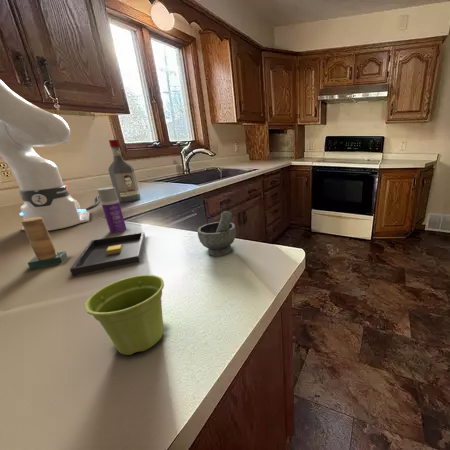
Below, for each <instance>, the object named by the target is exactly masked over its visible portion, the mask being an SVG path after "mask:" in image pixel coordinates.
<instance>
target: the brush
mask: <svg viewBox="0 0 450 450" xmlns="http://www.w3.org/2000/svg"><path fill="white" fill-rule="evenodd" d="M20 222H21V225H22V227H24V230H23V231H24V232H25V234H26V237H27V239H28V241H29V244H30V246H31V249H32V250H33V251H32V252H33V253H34V255H35V256H34V257H33V258H31V259H29V261H28V262H27V265H28V267H29V269H36V268H40V267H46V266H51V265H52V266H53V265H57V264H63V262H64V261H65V260H66V259H67V258H68V255H67V252H66V250H64V251H58V252H57V251H56V247H55V246H54V243H53V241H52V237H51V235H50V233H49V231H48V230H47V228H46V225H45V223H44V220H43V218H42V217H34V218H28V219H24V218H23V219H22V220H21V221H20Z"/></svg>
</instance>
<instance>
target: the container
mask: <svg viewBox="0 0 450 450" xmlns="http://www.w3.org/2000/svg"><path fill="white" fill-rule="evenodd" d="M97 193H98V195H99V197H98V198H99V202H100V204H101V208H102V211H103V215H104V217H105V220H106V225H107V227H108V230H109V233H110V234H119V233H122V232H126V231H127V226H126V222H125V217H124V215H123V211H122V207H121V204H120V203H121V202H119V200H118V197H117V194H116V191H115V188H114V187H113V186H106V187H101V188H97Z"/></svg>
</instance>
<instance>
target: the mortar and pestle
mask: <svg viewBox="0 0 450 450" xmlns="http://www.w3.org/2000/svg"><path fill="white" fill-rule="evenodd" d="M232 219H233V213H232V212H231V211H228V210H224V211H222V212H221V214H220V220H219V221H215V222H209V223H205V224H203V225H202V226H201V225H200V226H199V227H197V237H198V239H199V242H200V243H201V245H202V246H203V247H205V248H206V249H208V251H207V252H208V255H209V256H212V257H218V256H219V257H220V256H221V257H222V256H224V255H227V254H229V253H230V252H232V246H231V245H232V244H233V243H234V241H235V239H236V235H237V233H236V232H237V231H236V225H235V223H233V222H231V220H232Z"/></svg>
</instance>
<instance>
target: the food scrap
mask: <svg viewBox="0 0 450 450" xmlns="http://www.w3.org/2000/svg"><path fill="white" fill-rule="evenodd" d="M121 251H122V245H116V246H110V247H108V249H107V254H108V255H109V254H114V253H120V252H121Z"/></svg>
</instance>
